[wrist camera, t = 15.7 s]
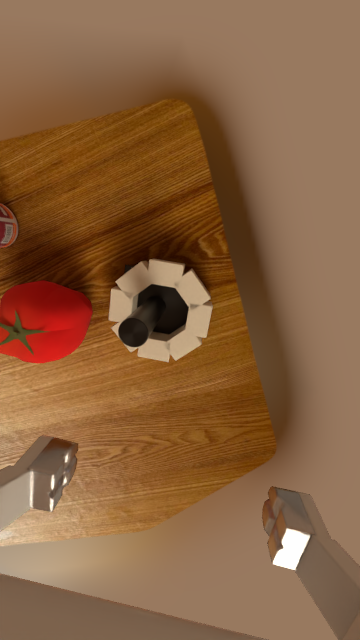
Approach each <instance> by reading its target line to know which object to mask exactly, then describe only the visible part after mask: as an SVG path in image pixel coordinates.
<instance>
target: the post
mask: <svg viewBox="0 0 360 640" xmlns="http://www.w3.org/2000/svg"><path fill="white" fill-rule="evenodd" d="M133 267H134V266H133V265H125V273H127V272H128V271H129V270H130V269H132V268H133ZM125 273H124V274H125ZM188 309H189V307H188V305H187V304H186V302H185V301H184V300H183V298H182V297H181V295H180V294H179V293H178V291H177V290H176V288H173V287H167V286H161V285H156V284H151V285H150V286H148V287H147V288H146V289H144V290H143V291H141V292H140V293H139V294H138V302H137V309H136V310H135V311H134V312H133V313H131V314H130V315H129V316H128V317H127V318H126V319H125V320H124V321H123V322H122V323H121V324H120V326H119V329H118V334H119V337H120V339H121V341H122V342H123V343H124V344H125V345H127V346H130V347H140V346H142V345H143V344H145V343H146V341H147V340H148V338H149V336H150V335H151V333H152V332H158V333H164V334H171V333H172V332H174V331H175V330H177V329H178V328H180V327H181V326H183V325H184V324H186V321H187V315H188Z"/></svg>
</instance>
